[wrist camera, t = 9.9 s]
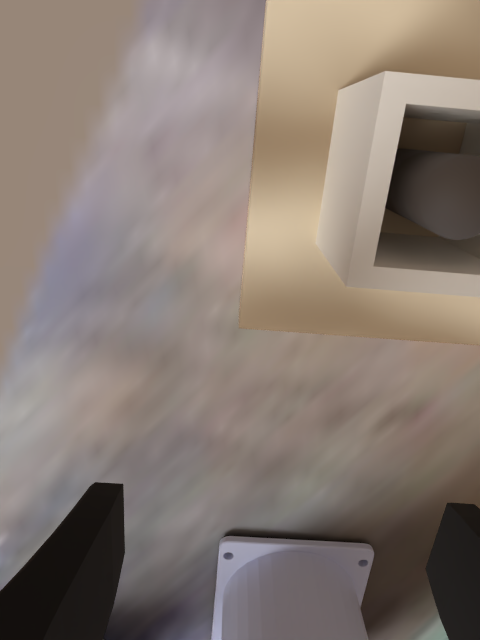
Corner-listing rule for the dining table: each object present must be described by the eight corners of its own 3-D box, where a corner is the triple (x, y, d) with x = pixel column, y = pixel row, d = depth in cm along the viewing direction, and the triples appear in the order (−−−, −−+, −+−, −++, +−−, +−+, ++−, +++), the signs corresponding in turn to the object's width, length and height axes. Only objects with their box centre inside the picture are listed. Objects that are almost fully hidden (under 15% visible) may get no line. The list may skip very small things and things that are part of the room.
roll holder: (473, 333, 19) (574, 418, 14) (238, 316, 19) (239, 397, 13) (576, -5, 15) (794, -92, 9) (268, -36, 14) (290, -148, 9)
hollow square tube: (450, 254, 17) (531, 301, 12) (315, 243, 16) (346, 286, 12) (489, 105, 15) (604, 92, 10) (338, 90, 15) (385, 70, 10)
